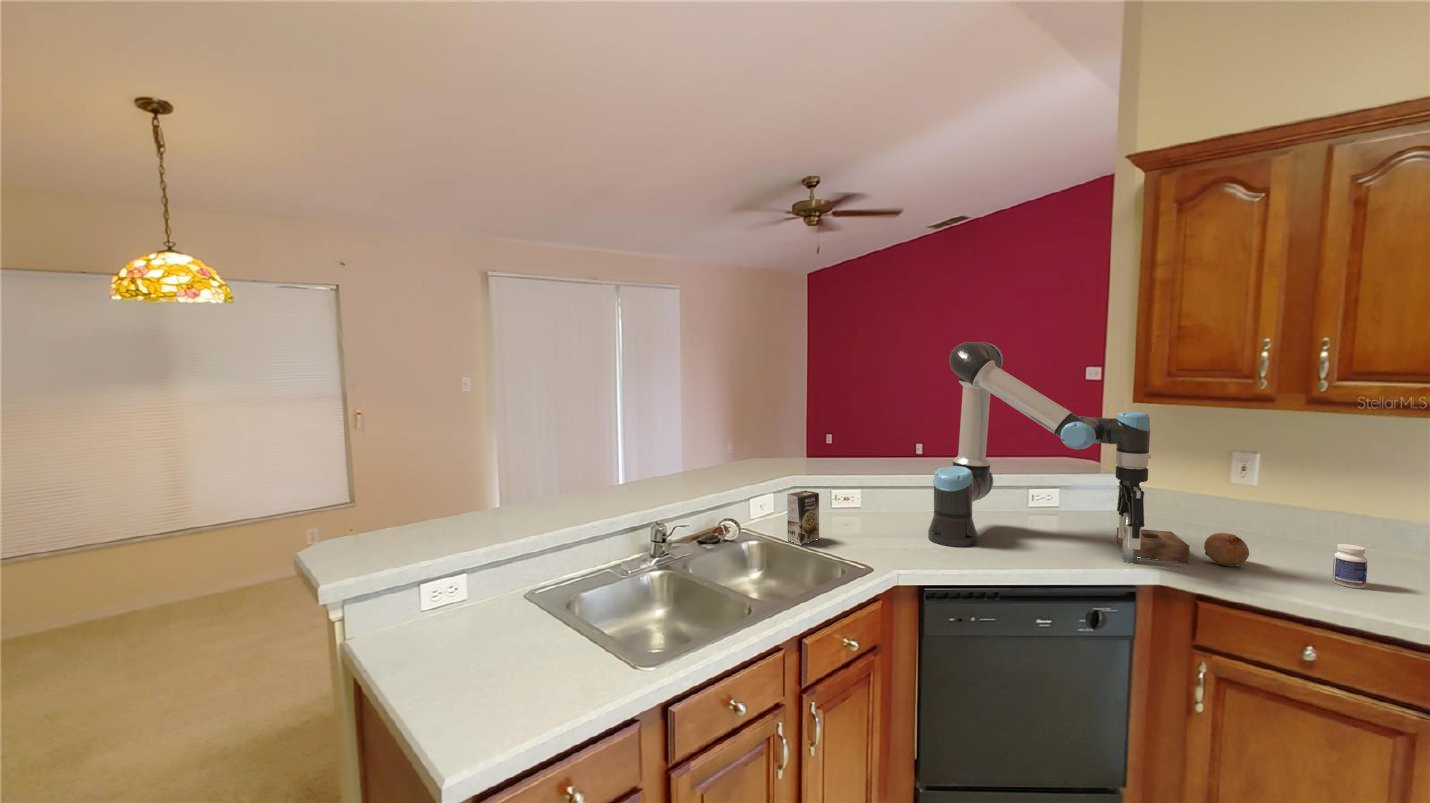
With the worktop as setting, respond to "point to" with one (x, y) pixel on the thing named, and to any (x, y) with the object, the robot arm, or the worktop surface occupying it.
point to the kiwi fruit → (1226, 549)
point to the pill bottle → (1350, 566)
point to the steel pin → (1127, 553)
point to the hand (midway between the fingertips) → (1129, 543)
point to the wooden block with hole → (1160, 546)
